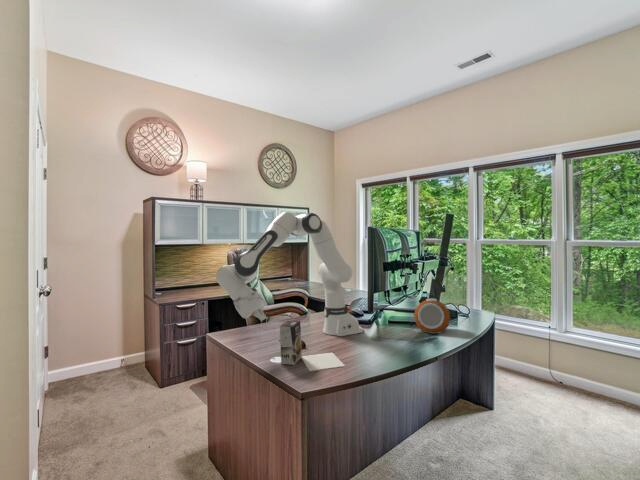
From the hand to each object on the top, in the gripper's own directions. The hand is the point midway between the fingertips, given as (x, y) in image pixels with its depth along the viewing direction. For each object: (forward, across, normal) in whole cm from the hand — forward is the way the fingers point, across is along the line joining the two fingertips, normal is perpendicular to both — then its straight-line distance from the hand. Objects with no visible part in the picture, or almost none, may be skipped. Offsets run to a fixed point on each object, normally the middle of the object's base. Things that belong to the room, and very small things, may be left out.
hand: (264, 319), depth 144 cm
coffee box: (+21, 0, +3) cm, 22 cm away
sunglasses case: (+17, +21, +9) cm, 28 cm away
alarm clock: (+66, +59, -41) cm, 97 cm away
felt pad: (+30, +2, -6) cm, 31 cm away
